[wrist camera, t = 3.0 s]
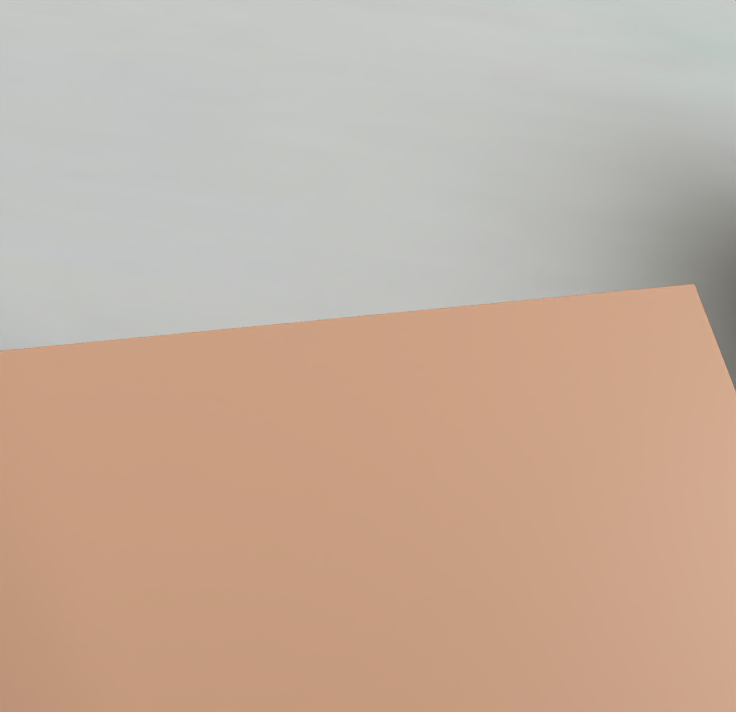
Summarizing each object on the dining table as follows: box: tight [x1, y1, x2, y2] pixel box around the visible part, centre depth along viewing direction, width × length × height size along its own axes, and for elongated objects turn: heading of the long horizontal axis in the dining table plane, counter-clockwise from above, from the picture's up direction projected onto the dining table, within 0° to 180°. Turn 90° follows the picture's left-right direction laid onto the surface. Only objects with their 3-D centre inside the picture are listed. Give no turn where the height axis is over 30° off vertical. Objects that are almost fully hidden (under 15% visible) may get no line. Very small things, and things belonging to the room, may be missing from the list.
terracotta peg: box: [0, 284, 736, 712], centre depth 9 cm, size 4×4×14 cm
